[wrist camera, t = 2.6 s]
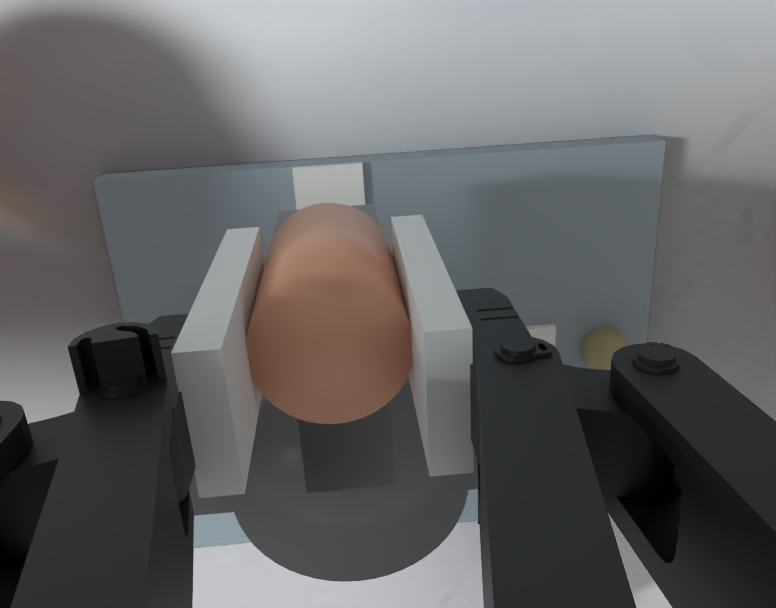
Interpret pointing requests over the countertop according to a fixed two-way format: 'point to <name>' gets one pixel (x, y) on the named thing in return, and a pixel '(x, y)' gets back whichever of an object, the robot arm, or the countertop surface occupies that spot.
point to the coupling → (337, 409)
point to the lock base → (446, 225)
